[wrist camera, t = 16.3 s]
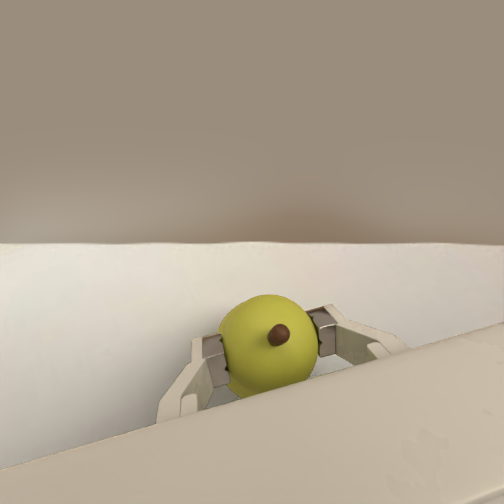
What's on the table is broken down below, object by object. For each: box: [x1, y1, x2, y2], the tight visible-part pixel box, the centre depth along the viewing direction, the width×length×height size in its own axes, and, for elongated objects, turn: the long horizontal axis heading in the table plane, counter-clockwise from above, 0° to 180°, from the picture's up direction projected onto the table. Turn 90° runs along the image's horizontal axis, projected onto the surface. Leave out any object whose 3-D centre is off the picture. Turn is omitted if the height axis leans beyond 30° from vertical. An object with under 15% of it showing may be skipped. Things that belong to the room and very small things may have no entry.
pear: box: [217, 295, 318, 398], centre depth 14 cm, size 6×6×11 cm
